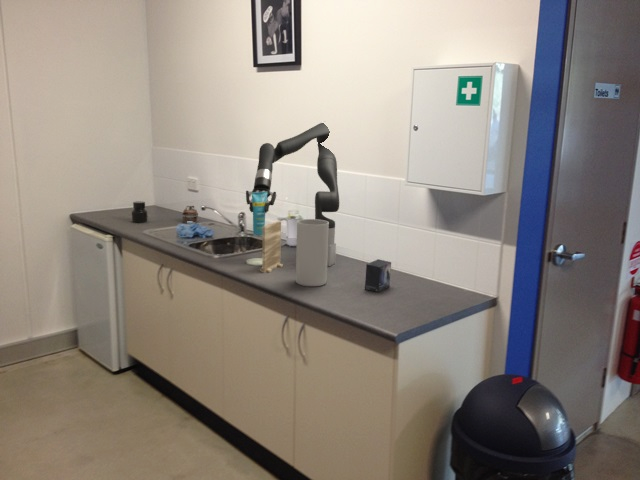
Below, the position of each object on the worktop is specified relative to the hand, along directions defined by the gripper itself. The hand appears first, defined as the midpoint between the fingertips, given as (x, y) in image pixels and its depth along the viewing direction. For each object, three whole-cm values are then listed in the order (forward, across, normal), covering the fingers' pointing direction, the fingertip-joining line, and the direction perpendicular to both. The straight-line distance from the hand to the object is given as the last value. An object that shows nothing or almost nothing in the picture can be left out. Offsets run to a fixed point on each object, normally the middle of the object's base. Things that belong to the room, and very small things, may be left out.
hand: (258, 211), depth 253 cm
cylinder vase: (+35, -26, +1) cm, 43 cm away
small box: (+37, -53, +3) cm, 64 cm away
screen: (+22, -7, -12) cm, 26 cm away
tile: (+16, 0, -19) cm, 24 cm away
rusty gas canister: (-46, +57, -82) cm, 110 cm away
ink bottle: (-42, +86, -78) cm, 123 cm away
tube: (+7, 0, -9) cm, 11 cm away
